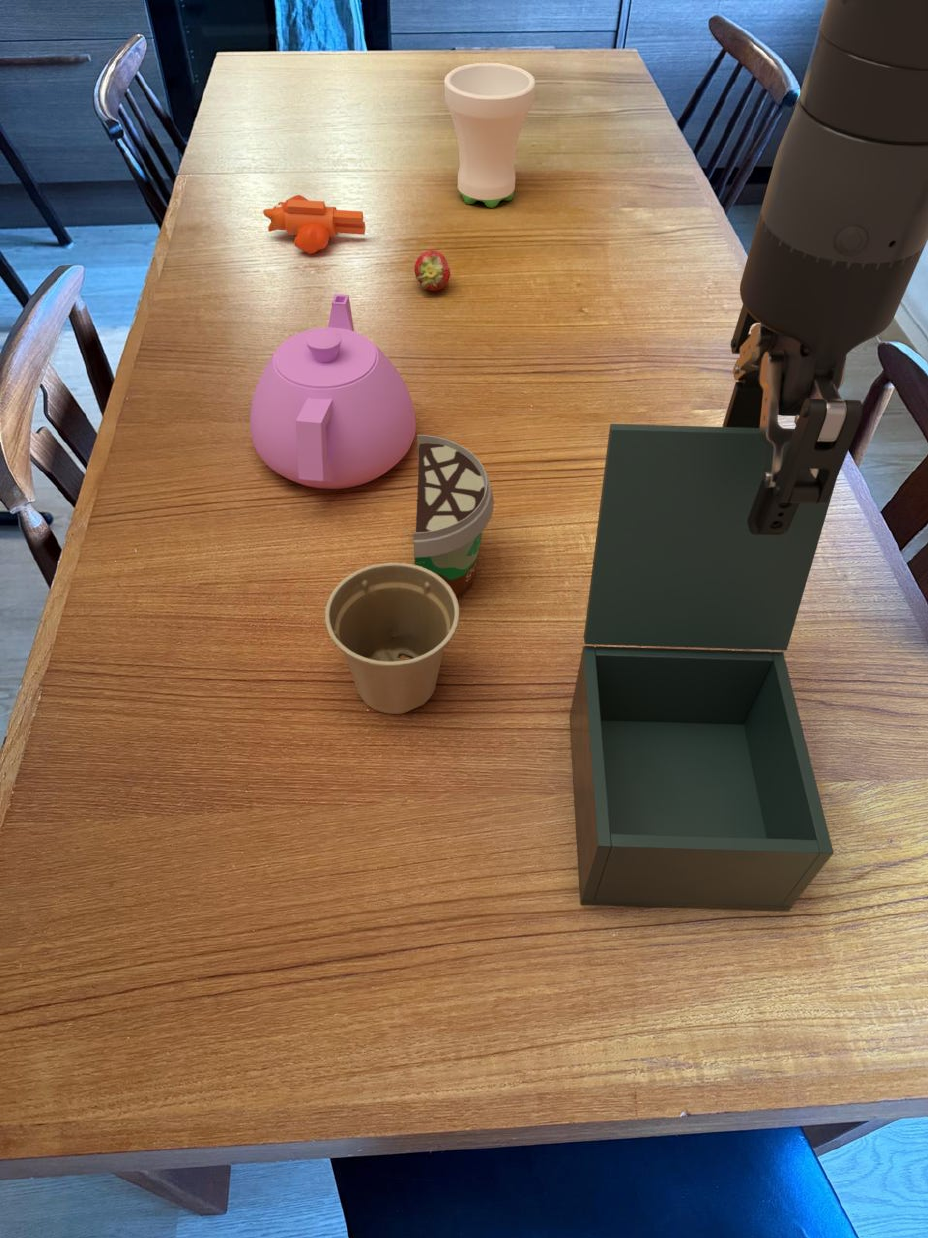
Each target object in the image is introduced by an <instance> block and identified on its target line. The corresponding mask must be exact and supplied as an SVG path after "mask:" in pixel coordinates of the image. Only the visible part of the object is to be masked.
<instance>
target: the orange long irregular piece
mask: <svg viewBox="0 0 928 1238" xmlns="http://www.w3.org/2000/svg"><path fill="white" fill-rule="evenodd" d="M262 214H263V215H264V217H266V218H267V219H268V220H270V223H269V224H268V227H267V231H268V232H269V233H270V232H274V231H285V232H286V234H287V235H290V236H295V238H294V240H293V245H294V247H296V248H297V249H300V251H304V252H305V253H307V254H309V255H312V254H315V253H316V252H317V251H319V250H324V249H325V248H327V245H328V244H329V241H331V238H336V237H337V236H338V234H344V235H345V234H347V235H363V236H364V235H365V234H366V221H364V211H361V210H347V209H345V210H344V209H338V208H337V207H336V206H326V203H325V201H324V200H309V199H307V198H306V197H304V196H303V195H301V194H295V195H294V196H292V197H290V198H287V199H286V200H285V202H284V201H279V202H278V203H277V204H275V206H273V207H272V208H265V209H263V211H262Z"/></svg>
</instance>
